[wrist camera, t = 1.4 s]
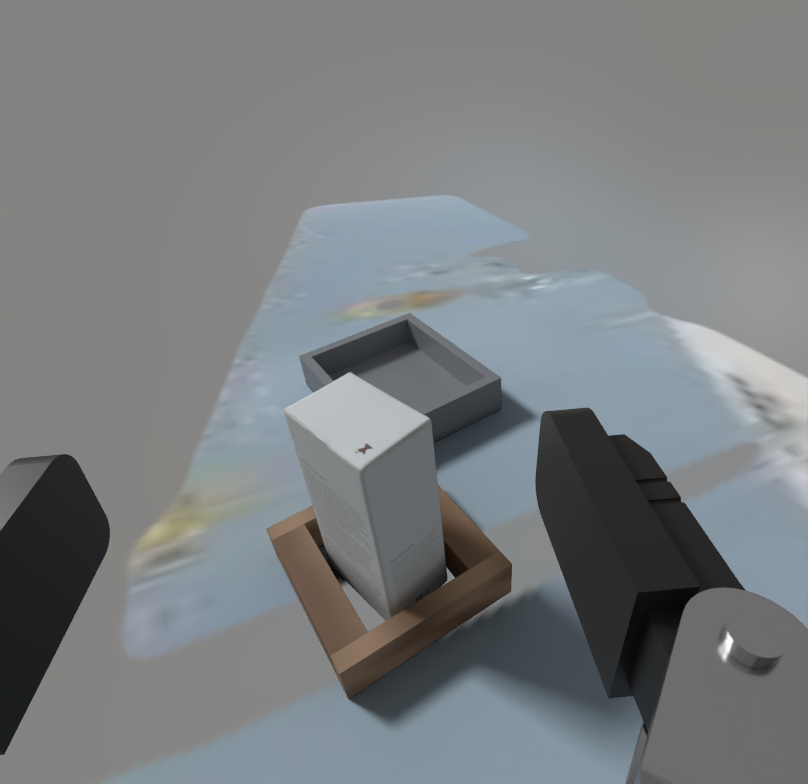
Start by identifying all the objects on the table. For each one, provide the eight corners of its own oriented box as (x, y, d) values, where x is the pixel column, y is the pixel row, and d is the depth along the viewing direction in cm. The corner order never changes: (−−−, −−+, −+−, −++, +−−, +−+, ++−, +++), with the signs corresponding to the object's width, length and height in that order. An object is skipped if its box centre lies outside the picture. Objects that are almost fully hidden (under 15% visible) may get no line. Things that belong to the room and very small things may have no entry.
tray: (412, 340, 51) (409, 313, 49) (500, 408, 42) (501, 377, 40) (306, 384, 47) (299, 356, 45) (377, 470, 38) (371, 439, 36)
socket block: (414, 482, 36) (410, 455, 35) (510, 591, 29) (511, 564, 28) (276, 554, 33) (266, 528, 31) (348, 699, 26) (339, 674, 24)
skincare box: (450, 580, 30) (436, 419, 23) (394, 632, 28) (359, 472, 21) (381, 522, 34) (350, 367, 27) (327, 564, 32) (277, 409, 25)
